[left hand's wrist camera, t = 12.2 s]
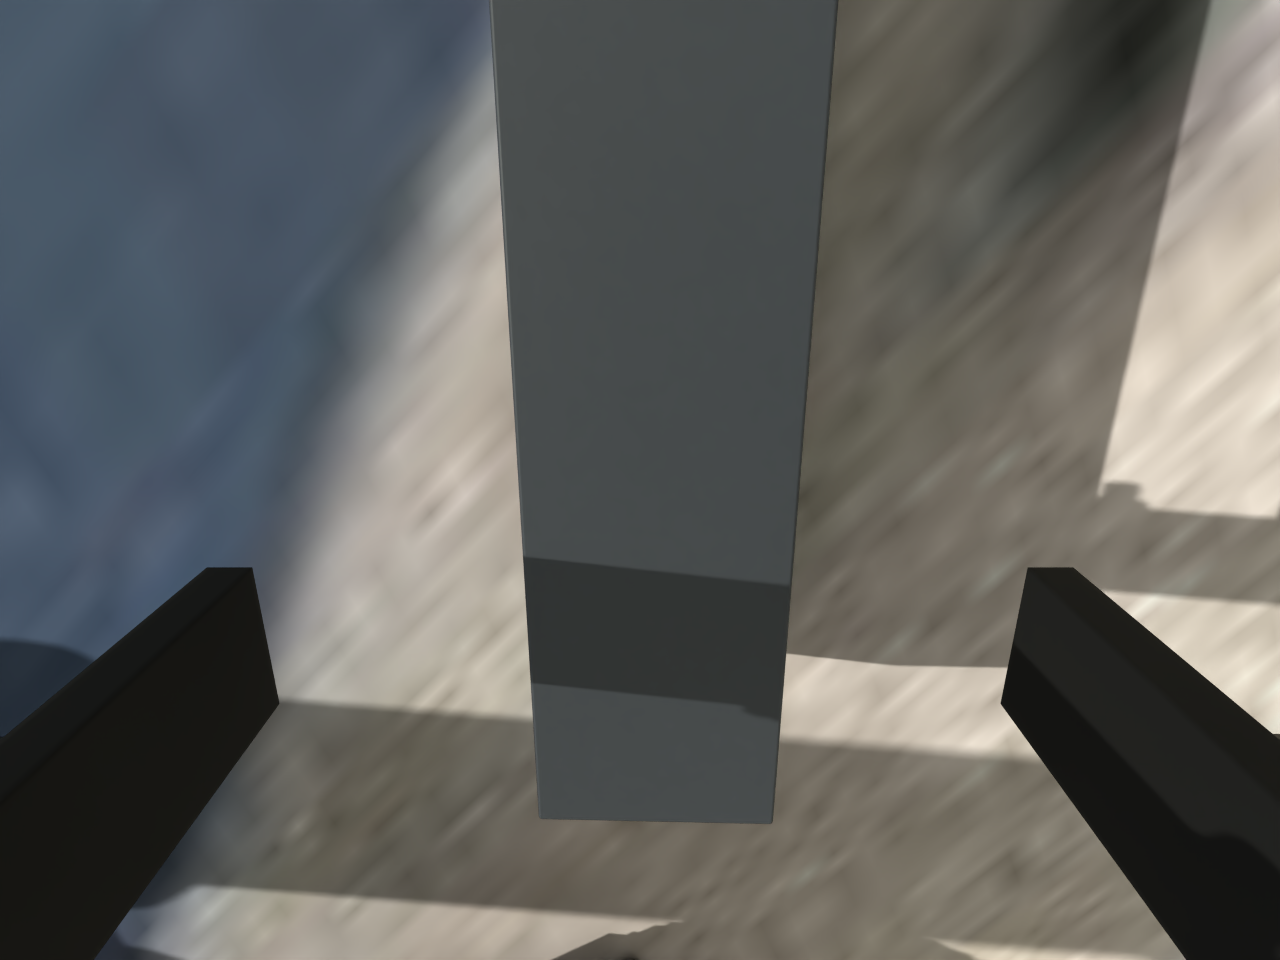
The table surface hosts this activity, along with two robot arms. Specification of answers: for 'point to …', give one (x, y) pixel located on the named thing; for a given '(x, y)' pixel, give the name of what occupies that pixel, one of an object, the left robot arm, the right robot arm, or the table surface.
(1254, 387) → the table surface
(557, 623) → the post
